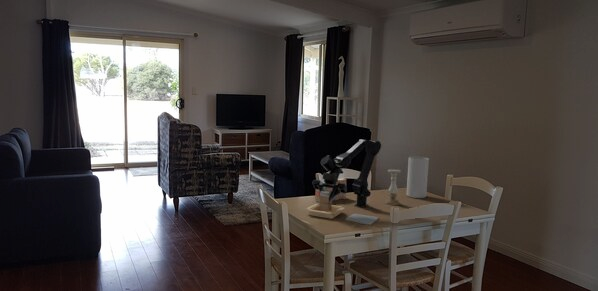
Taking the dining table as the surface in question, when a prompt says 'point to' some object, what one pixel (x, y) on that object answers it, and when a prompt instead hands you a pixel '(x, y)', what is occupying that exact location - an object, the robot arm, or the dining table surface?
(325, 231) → the dining table surface
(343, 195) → the stack of blocks
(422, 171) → the cylinder vase
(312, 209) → the carton
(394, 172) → the candle holder
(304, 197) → the dining table surface
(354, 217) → the rubber mat
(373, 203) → the dining table surface
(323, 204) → the grey rectangular block
